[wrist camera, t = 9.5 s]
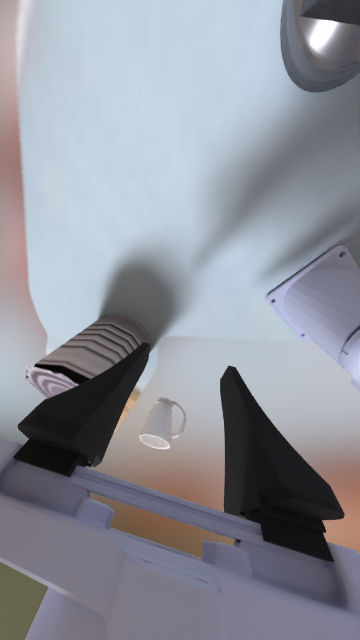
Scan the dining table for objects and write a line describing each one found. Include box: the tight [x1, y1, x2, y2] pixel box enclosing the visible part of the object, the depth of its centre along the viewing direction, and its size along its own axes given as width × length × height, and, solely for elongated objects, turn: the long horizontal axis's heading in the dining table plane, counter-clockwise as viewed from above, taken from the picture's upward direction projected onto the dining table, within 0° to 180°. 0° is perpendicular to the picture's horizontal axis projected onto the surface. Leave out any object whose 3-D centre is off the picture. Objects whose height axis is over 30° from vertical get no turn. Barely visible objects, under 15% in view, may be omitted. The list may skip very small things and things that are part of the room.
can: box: [26, 315, 151, 399], centre depth 20 cm, size 11×11×12 cm
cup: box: [139, 398, 186, 449], centre depth 30 cm, size 7×10×8 cm
